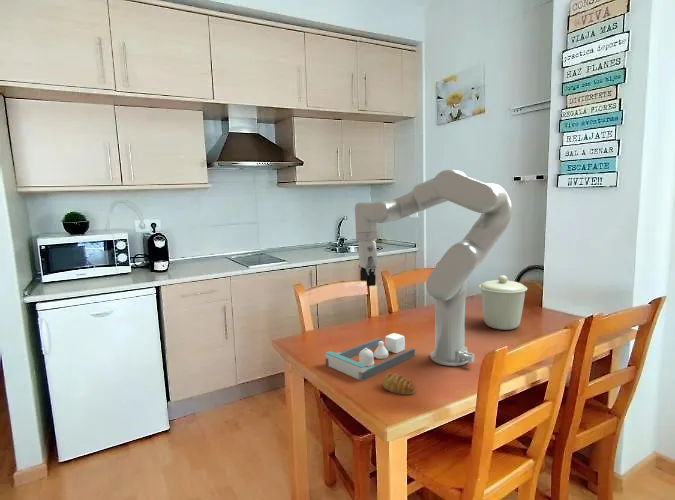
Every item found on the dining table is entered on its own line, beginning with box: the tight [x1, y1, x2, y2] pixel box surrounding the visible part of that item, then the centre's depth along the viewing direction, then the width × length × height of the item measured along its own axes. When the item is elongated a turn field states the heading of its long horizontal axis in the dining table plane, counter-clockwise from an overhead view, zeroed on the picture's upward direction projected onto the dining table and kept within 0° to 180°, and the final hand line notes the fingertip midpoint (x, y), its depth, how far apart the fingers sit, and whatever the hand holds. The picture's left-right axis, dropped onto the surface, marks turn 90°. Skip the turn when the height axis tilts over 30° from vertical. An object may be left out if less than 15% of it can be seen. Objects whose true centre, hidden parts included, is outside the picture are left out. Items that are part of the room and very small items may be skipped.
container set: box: [358, 332, 406, 367], centre depth 141 cm, size 20×5×6 cm, turn 133°
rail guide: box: [325, 337, 416, 381], centre depth 138 cm, size 16×26×4 cm, turn 132°
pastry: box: [382, 372, 417, 395], centre depth 118 cm, size 9×7×4 cm
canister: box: [478, 275, 528, 331], centre depth 167 cm, size 18×18×21 cm
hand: (368, 282), depth 150 cm, fingers open, 9 cm apart
